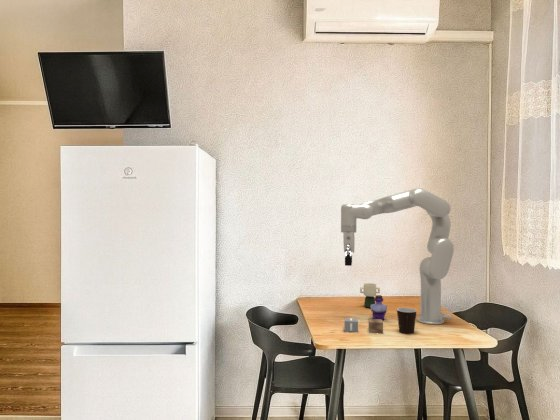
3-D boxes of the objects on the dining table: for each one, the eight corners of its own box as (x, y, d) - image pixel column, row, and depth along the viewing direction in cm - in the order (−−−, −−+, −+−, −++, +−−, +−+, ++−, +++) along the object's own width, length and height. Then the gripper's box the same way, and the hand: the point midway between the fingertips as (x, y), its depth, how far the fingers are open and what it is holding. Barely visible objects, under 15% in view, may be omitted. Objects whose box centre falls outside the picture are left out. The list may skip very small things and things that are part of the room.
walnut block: (381, 330, 205) (381, 319, 205) (382, 334, 199) (383, 322, 199) (368, 329, 206) (368, 318, 206) (369, 333, 200) (369, 322, 200)
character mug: (378, 306, 253) (378, 283, 253) (380, 309, 246) (380, 285, 246) (359, 305, 254) (359, 282, 253) (360, 308, 246) (361, 285, 246)
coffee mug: (401, 328, 208) (401, 306, 208) (419, 331, 202) (419, 309, 202) (390, 333, 199) (390, 311, 199) (408, 337, 193) (409, 314, 193)
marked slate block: (357, 329, 207) (357, 318, 206) (357, 332, 200) (358, 321, 200) (344, 328, 207) (344, 317, 207) (344, 332, 201) (344, 320, 201)
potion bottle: (390, 319, 224) (391, 295, 223) (381, 322, 218) (381, 298, 217) (376, 316, 230) (376, 293, 230) (366, 319, 224) (366, 295, 224)
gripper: (356, 230, 210) (356, 266, 210) (356, 228, 227) (356, 262, 227) (340, 230, 211) (340, 266, 211) (341, 228, 228) (341, 261, 228)
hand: (348, 264), depth 219 cm, fingers open, 9 cm apart
